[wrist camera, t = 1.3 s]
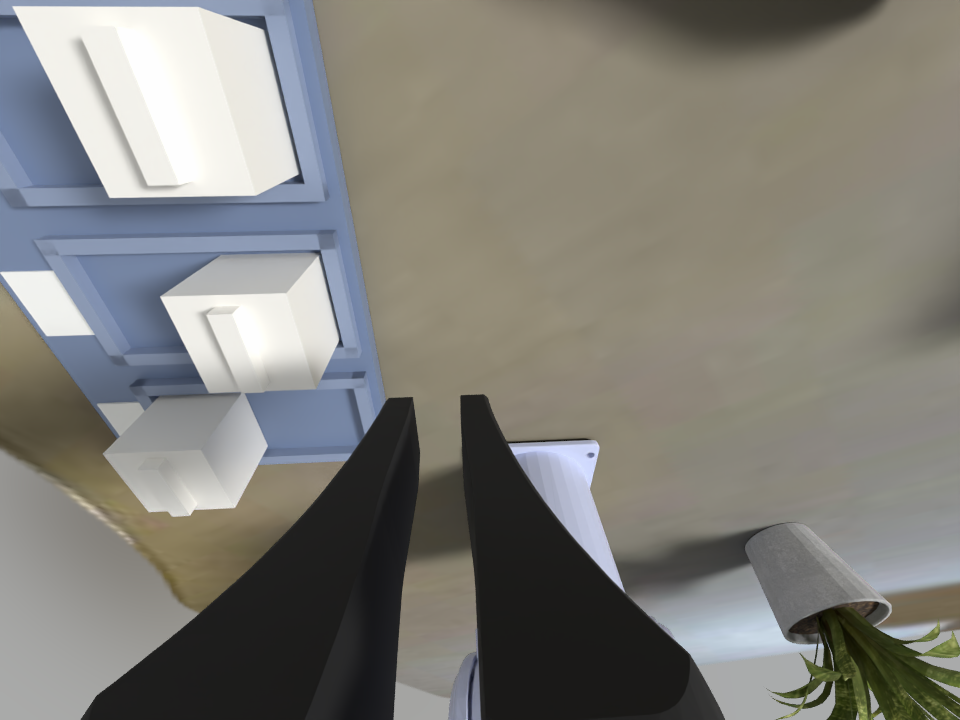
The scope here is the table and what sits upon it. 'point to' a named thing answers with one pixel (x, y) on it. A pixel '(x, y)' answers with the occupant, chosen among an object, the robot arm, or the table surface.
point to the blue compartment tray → (178, 244)
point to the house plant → (847, 632)
